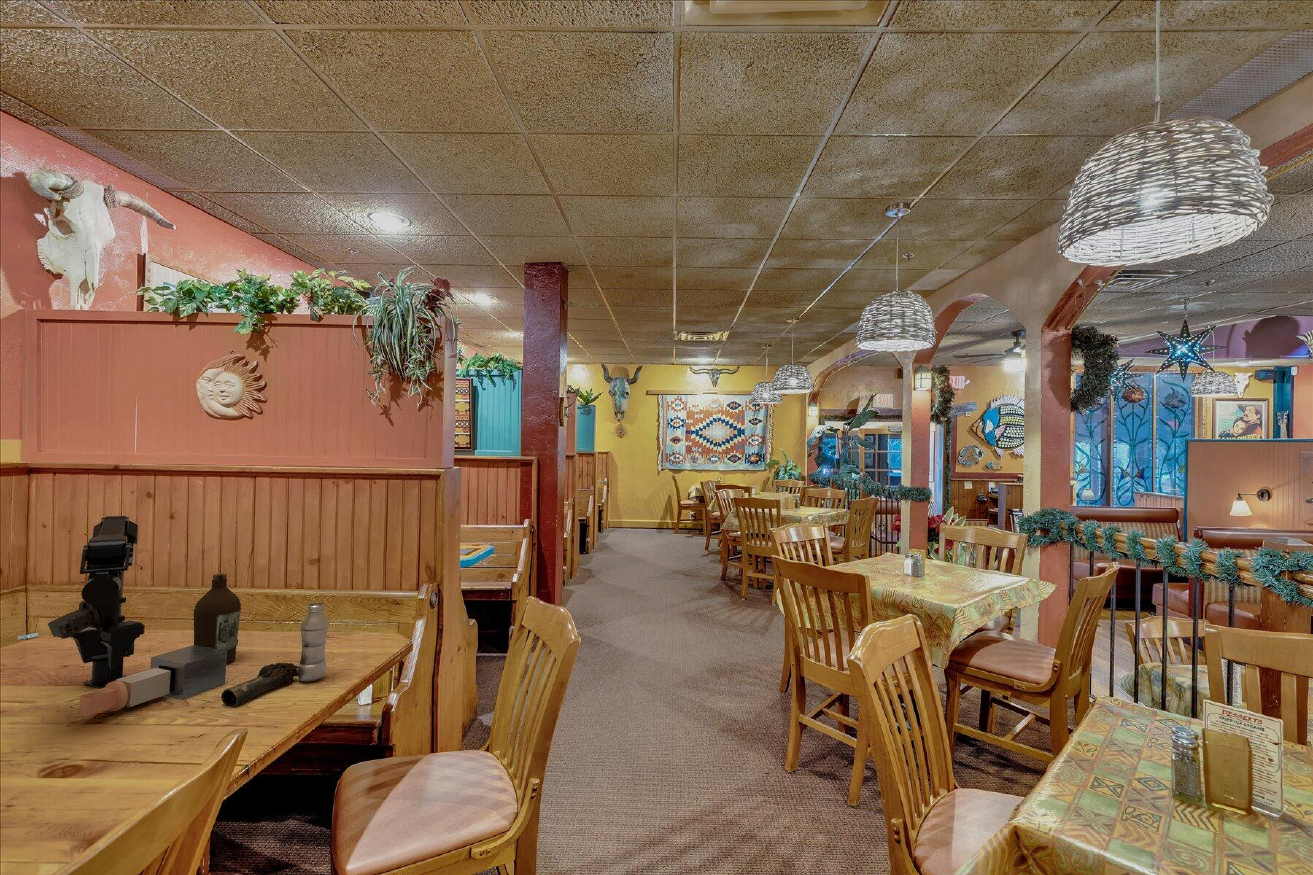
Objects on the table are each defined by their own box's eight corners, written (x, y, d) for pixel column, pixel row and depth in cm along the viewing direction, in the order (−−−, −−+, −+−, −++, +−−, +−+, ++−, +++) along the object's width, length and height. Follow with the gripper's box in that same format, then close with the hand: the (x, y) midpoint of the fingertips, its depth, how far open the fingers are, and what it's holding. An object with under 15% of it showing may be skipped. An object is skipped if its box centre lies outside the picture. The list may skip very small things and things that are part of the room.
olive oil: (180, 667, 155) (185, 576, 156) (216, 654, 166) (221, 569, 166) (212, 671, 153) (218, 579, 154) (247, 658, 164) (252, 572, 165)
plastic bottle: (304, 675, 153) (308, 601, 154) (330, 674, 154) (334, 601, 154) (291, 684, 147) (295, 607, 147) (318, 684, 147) (323, 607, 148)
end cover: (73, 717, 124) (75, 688, 124) (152, 691, 138) (154, 665, 138) (92, 722, 122) (94, 693, 122) (170, 695, 136) (172, 668, 136)
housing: (148, 691, 140) (151, 657, 140) (192, 677, 149) (194, 644, 150) (182, 699, 136) (184, 663, 136) (225, 683, 146) (227, 650, 146)
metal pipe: (235, 709, 132) (236, 685, 133) (214, 705, 134) (215, 681, 135) (301, 681, 149) (302, 659, 150) (282, 677, 151) (282, 656, 152)
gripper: (29, 598, 121) (24, 671, 121) (85, 608, 116) (80, 685, 115) (94, 587, 132) (90, 654, 131) (148, 596, 126) (143, 666, 126)
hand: (99, 665), depth 126 cm, fingers open, 9 cm apart
